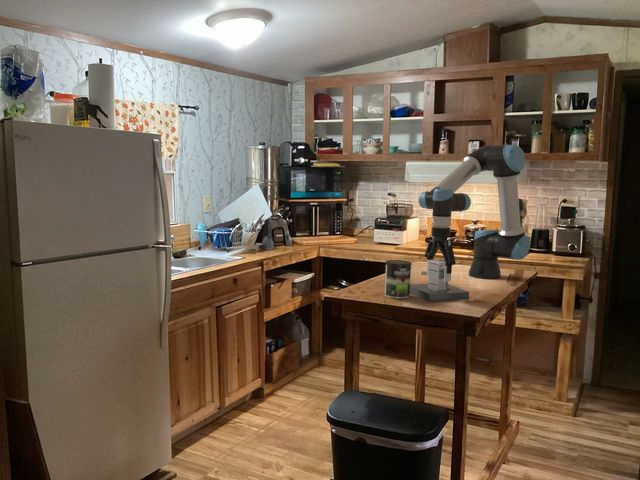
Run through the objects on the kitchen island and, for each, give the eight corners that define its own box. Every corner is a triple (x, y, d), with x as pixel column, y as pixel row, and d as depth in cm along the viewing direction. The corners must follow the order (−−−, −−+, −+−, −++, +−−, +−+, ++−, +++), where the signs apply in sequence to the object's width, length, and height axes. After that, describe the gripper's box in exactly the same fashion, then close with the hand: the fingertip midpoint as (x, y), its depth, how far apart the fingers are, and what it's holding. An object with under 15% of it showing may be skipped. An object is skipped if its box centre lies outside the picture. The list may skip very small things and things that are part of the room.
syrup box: (437, 297, 223) (439, 262, 221) (427, 294, 227) (428, 260, 226) (447, 296, 226) (449, 261, 224) (437, 293, 231) (438, 259, 229)
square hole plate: (444, 289, 238) (445, 282, 237) (468, 299, 221) (469, 292, 220) (407, 291, 232) (408, 284, 232) (429, 301, 215) (429, 294, 215)
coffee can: (414, 298, 220) (415, 263, 219) (390, 299, 217) (391, 264, 216) (403, 292, 230) (404, 259, 228) (380, 293, 227) (381, 260, 225)
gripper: (417, 223, 233) (415, 272, 236) (449, 230, 210) (446, 284, 213) (433, 223, 236) (431, 272, 238) (466, 230, 212) (463, 283, 215)
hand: (438, 278), depth 225 cm, fingers open, 13 cm apart
